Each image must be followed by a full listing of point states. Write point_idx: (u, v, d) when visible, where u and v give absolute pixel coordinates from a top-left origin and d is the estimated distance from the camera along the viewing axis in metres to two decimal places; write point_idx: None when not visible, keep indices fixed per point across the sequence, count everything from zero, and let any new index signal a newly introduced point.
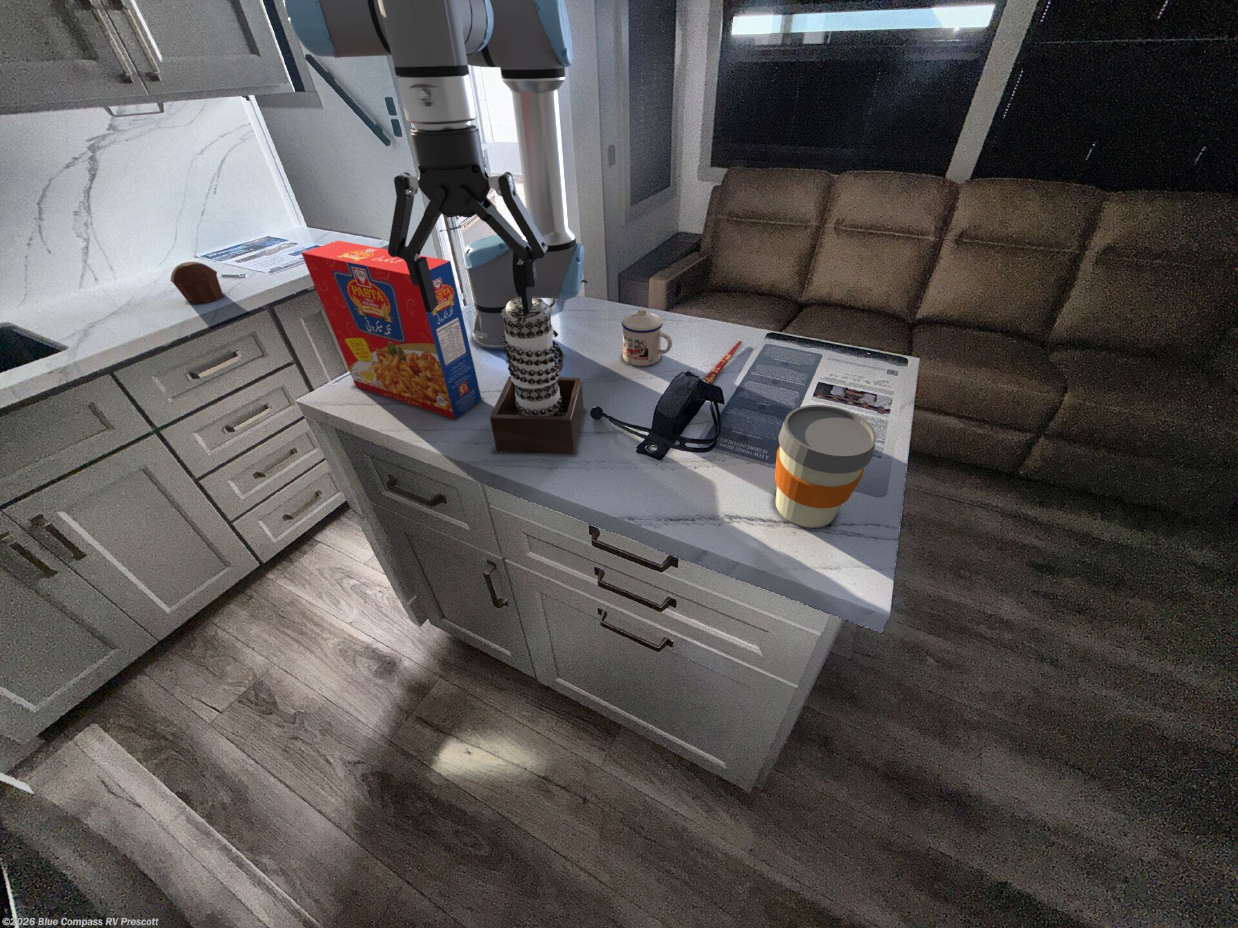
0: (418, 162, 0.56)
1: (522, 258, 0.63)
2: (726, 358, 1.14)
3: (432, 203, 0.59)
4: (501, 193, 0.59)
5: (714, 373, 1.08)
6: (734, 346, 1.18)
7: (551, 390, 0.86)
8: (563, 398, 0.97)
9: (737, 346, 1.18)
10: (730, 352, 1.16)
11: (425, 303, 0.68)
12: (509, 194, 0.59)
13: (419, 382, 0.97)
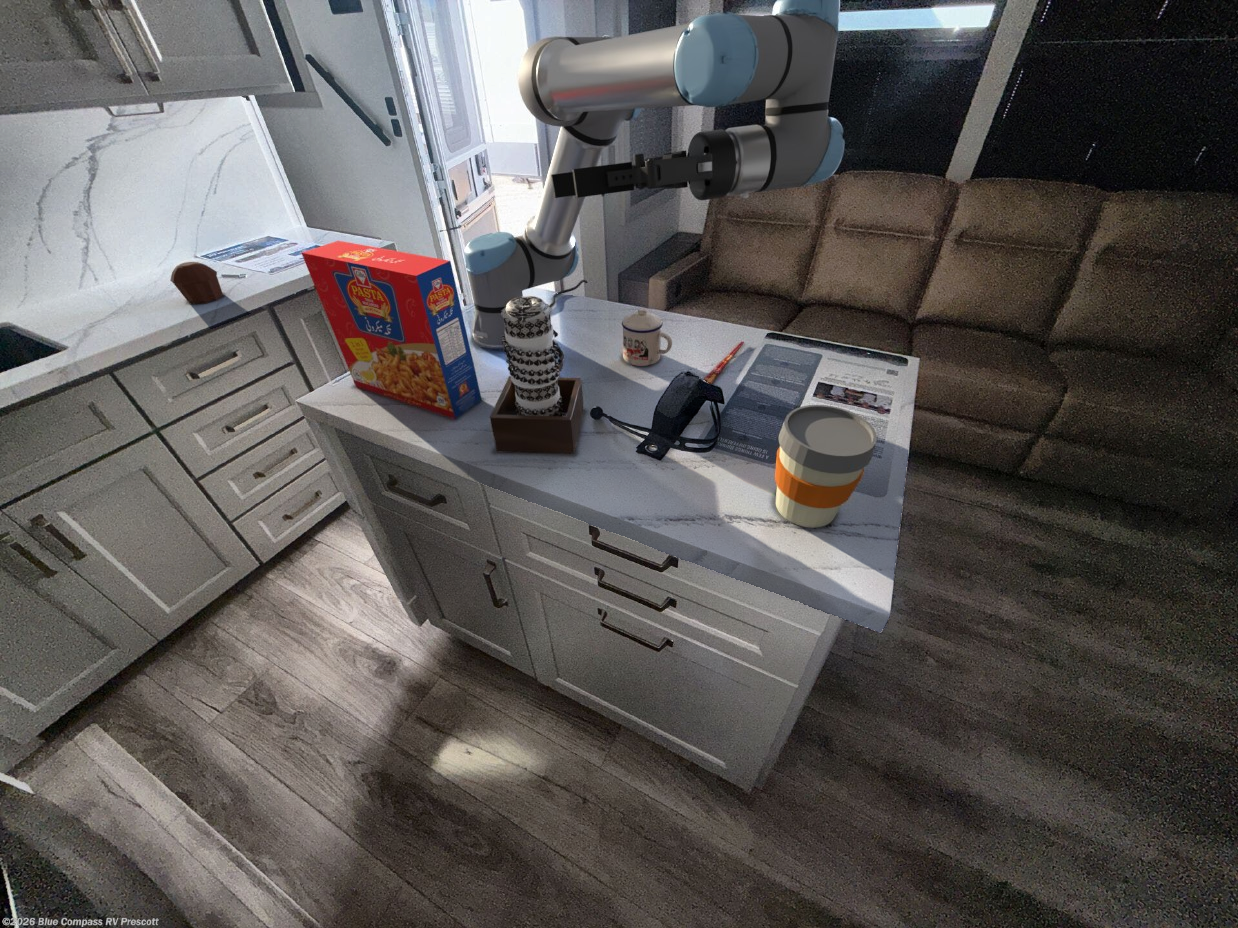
0: (711, 189, 0.62)
1: None
2: (727, 358, 1.13)
3: None
4: None
5: (715, 373, 1.08)
6: (736, 347, 1.18)
7: (551, 390, 0.86)
8: (563, 398, 0.97)
9: (739, 347, 1.18)
10: (732, 352, 1.16)
11: None
12: None
13: (419, 382, 0.97)
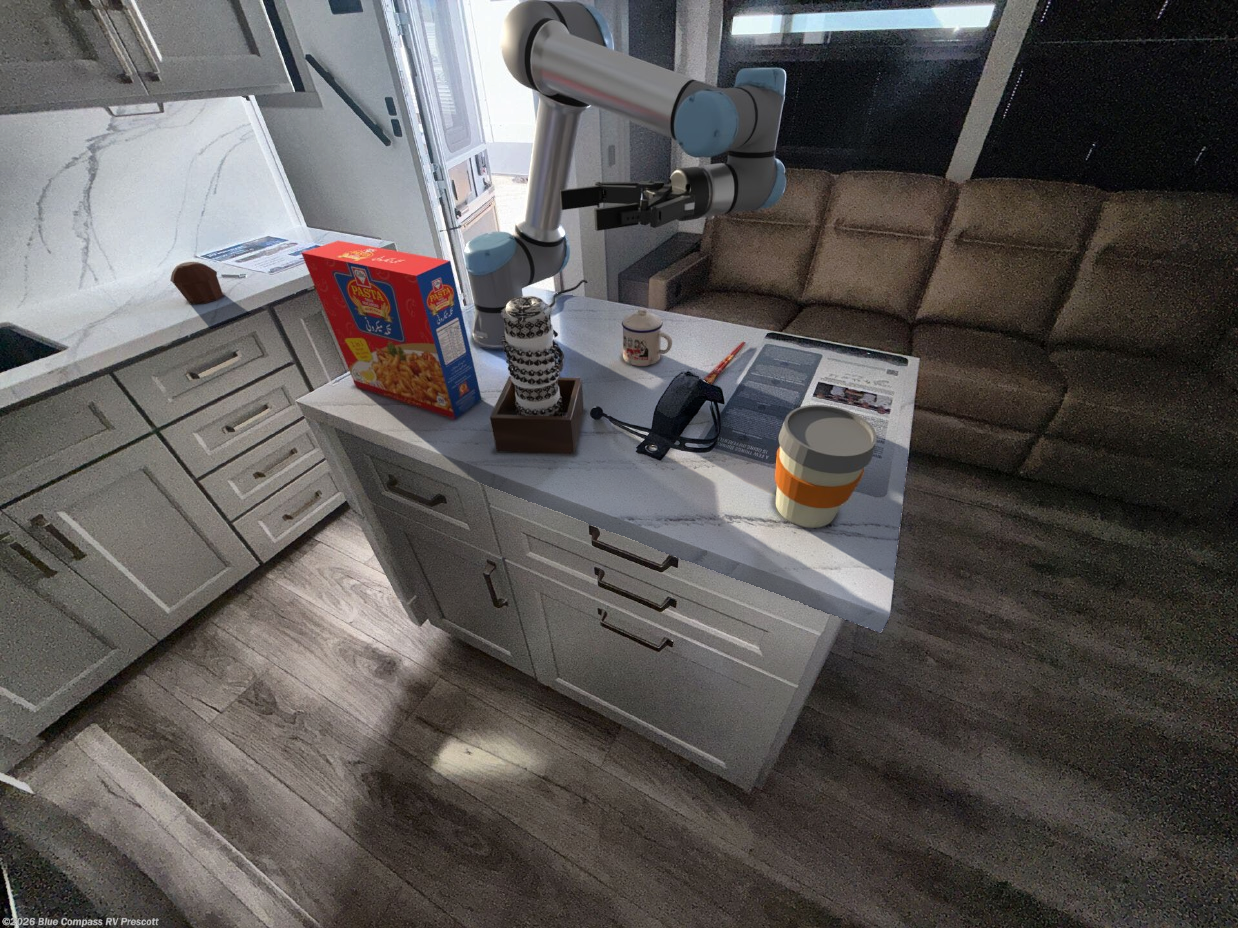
0: (689, 216, 0.80)
1: (601, 202, 0.82)
2: (728, 359, 1.13)
3: None
4: None
5: (715, 373, 1.08)
6: (737, 347, 1.18)
7: (551, 390, 0.86)
8: (563, 398, 0.97)
9: (740, 347, 1.18)
10: (733, 353, 1.16)
11: (604, 229, 0.70)
12: None
13: (419, 382, 0.97)
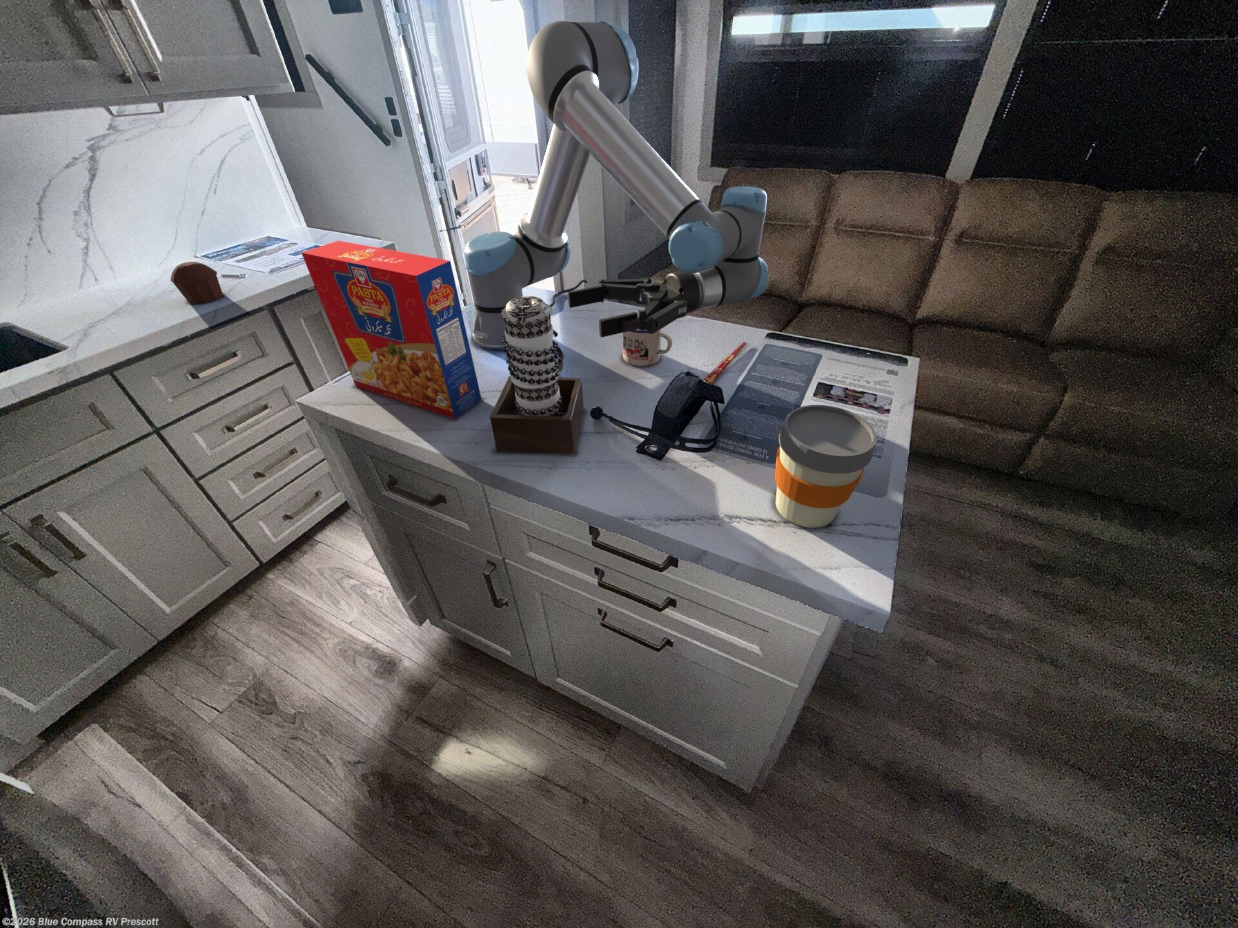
0: None
1: None
2: (729, 359, 1.13)
3: None
4: None
5: (715, 373, 1.08)
6: (738, 347, 1.18)
7: (551, 390, 0.86)
8: (563, 398, 0.97)
9: (741, 347, 1.18)
10: (733, 353, 1.16)
11: (607, 335, 0.81)
12: None
13: (419, 382, 0.97)
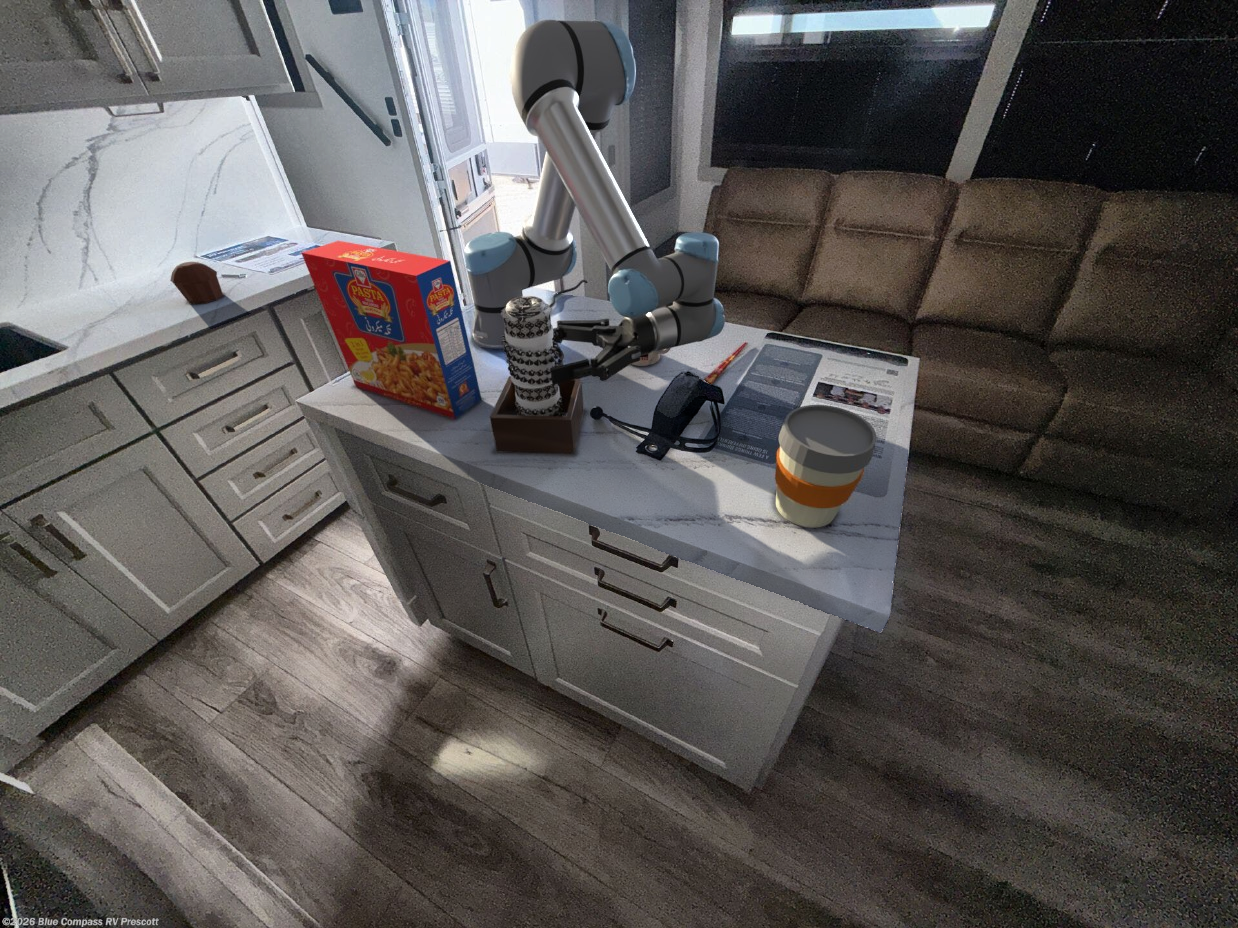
0: None
1: None
2: (730, 359, 1.13)
3: None
4: None
5: (716, 373, 1.08)
6: (739, 347, 1.18)
7: (551, 390, 0.86)
8: (563, 398, 0.97)
9: (742, 347, 1.18)
10: (734, 353, 1.15)
11: (560, 382, 0.82)
12: None
13: (419, 382, 0.97)
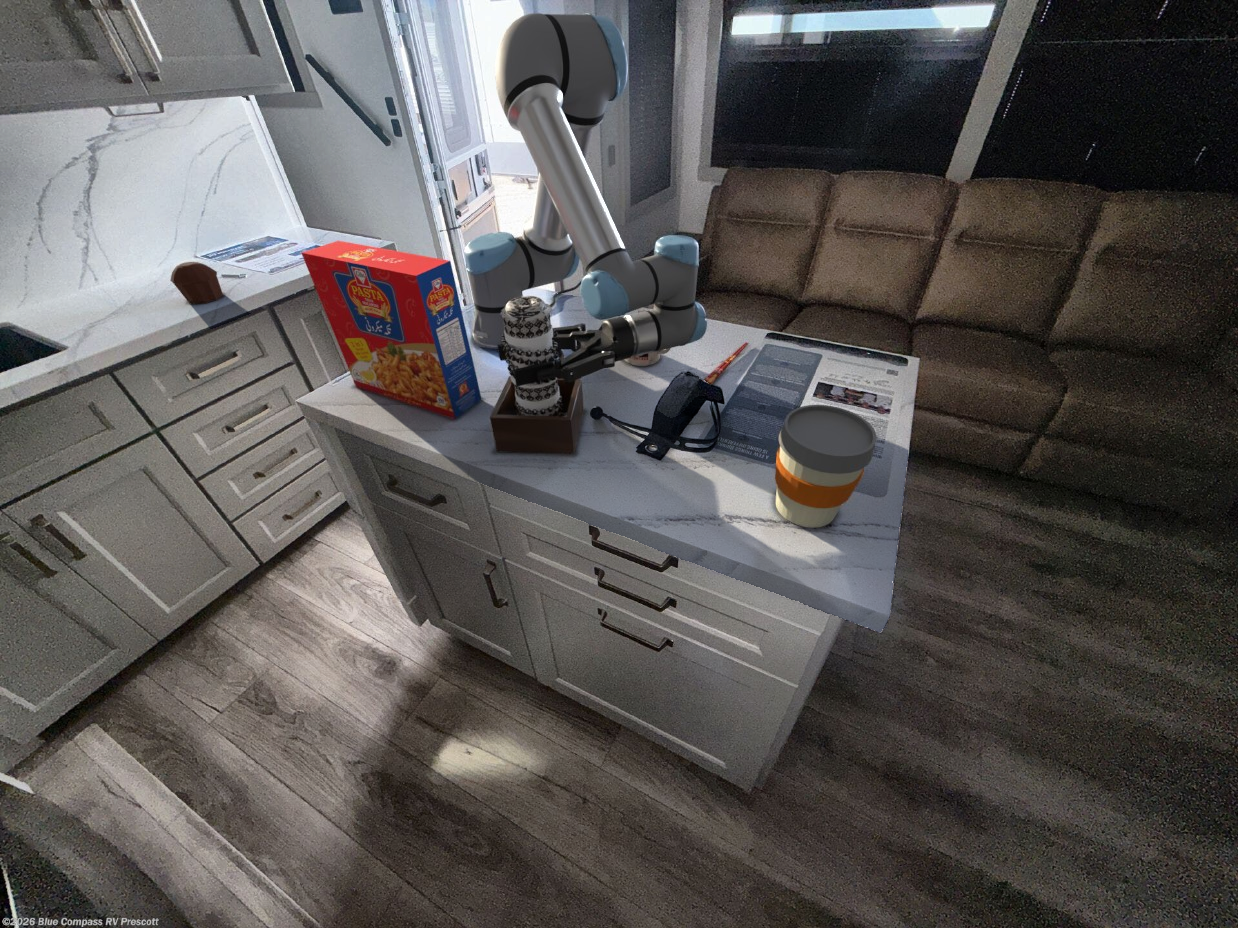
0: (617, 360, 0.90)
1: None
2: (730, 359, 1.13)
3: None
4: None
5: (716, 373, 1.08)
6: (740, 347, 1.18)
7: (551, 390, 0.86)
8: (563, 398, 0.97)
9: (743, 347, 1.18)
10: (735, 353, 1.15)
11: (524, 384, 0.81)
12: None
13: (419, 382, 0.97)
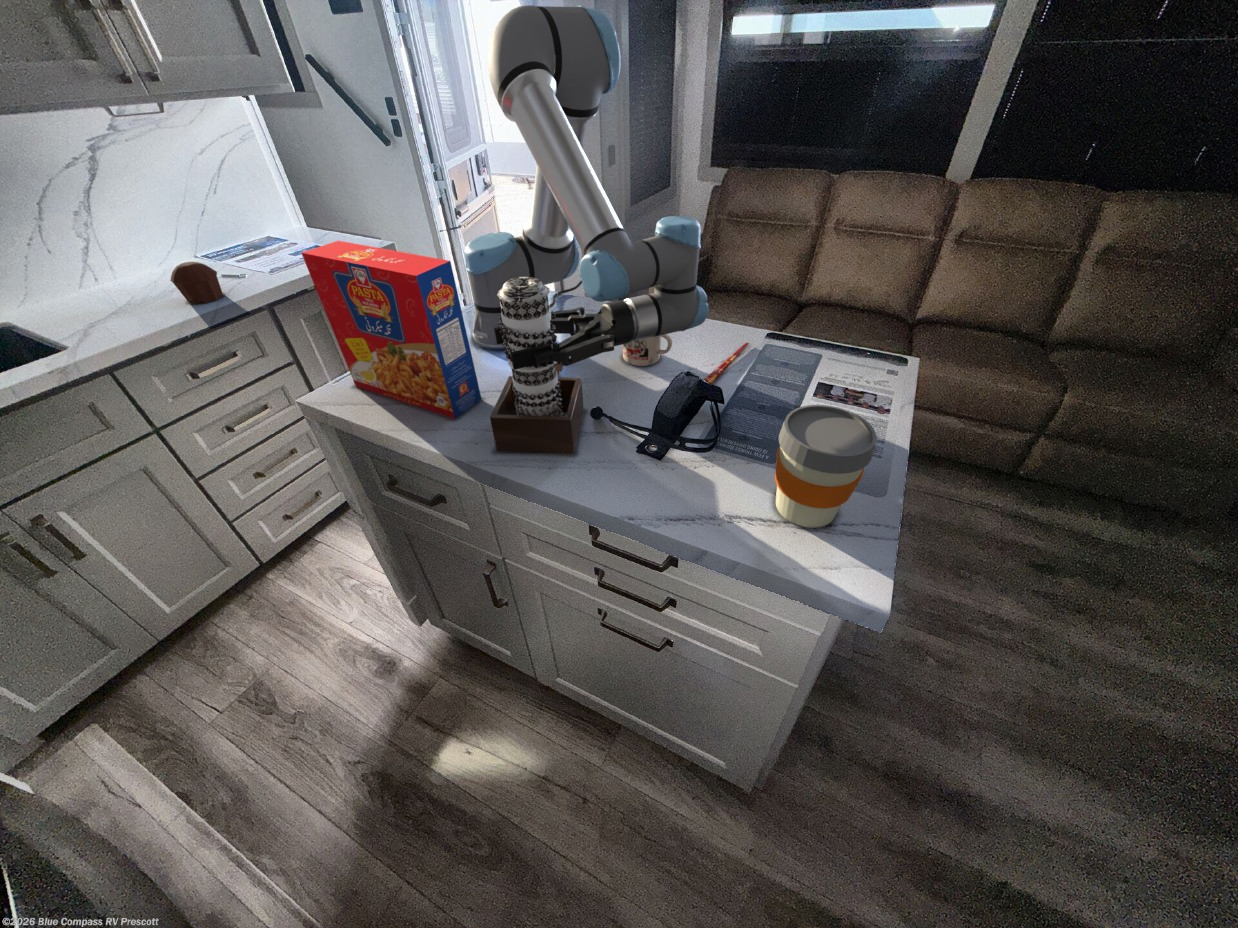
0: (617, 344, 0.88)
1: None
2: (730, 359, 1.13)
3: None
4: None
5: (716, 373, 1.08)
6: (741, 347, 1.18)
7: (549, 374, 0.84)
8: (563, 398, 0.97)
9: (743, 347, 1.18)
10: (735, 353, 1.15)
11: (521, 367, 0.80)
12: None
13: (419, 382, 0.97)
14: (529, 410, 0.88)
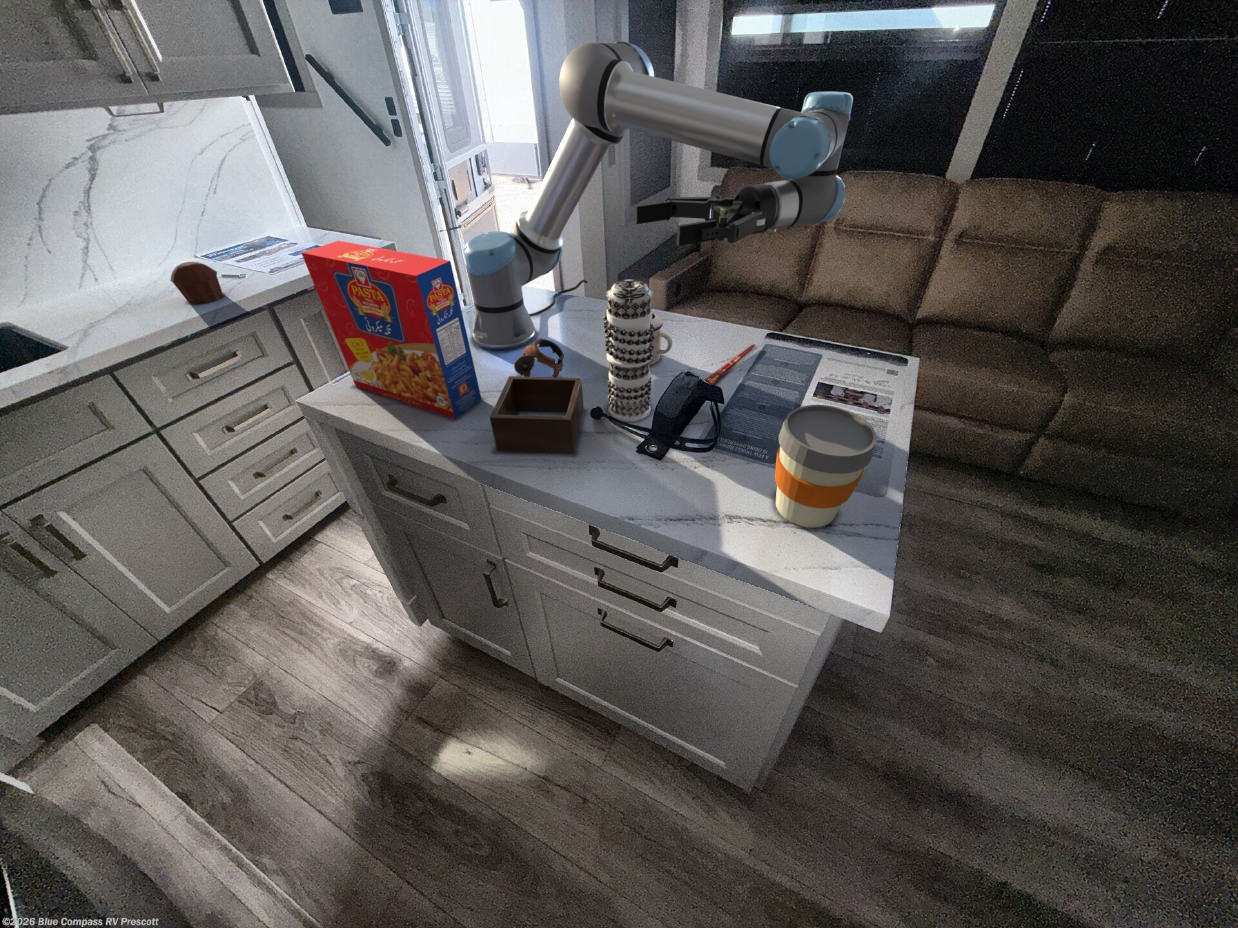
0: (756, 230, 0.84)
1: (671, 216, 0.87)
2: (734, 360, 1.13)
3: None
4: None
5: (718, 374, 1.08)
6: (746, 349, 1.17)
7: (645, 369, 0.91)
8: (563, 398, 0.97)
9: (749, 349, 1.17)
10: (740, 355, 1.15)
11: (685, 244, 0.75)
12: None
13: (419, 382, 0.97)
14: (623, 403, 0.95)
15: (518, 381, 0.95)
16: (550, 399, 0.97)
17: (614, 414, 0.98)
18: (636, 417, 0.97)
